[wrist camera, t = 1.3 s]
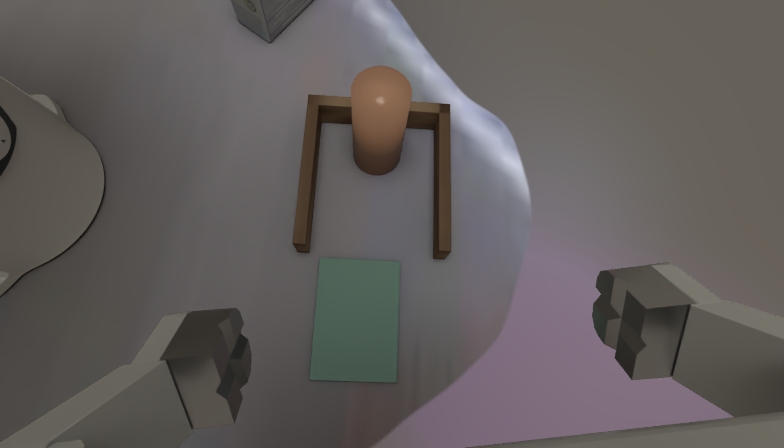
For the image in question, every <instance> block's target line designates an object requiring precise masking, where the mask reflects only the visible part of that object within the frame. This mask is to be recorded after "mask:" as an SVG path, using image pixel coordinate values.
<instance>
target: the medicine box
mask: <svg viewBox="0 0 784 448" xmlns="http://www.w3.org/2000/svg"><path fill="white" fill-rule="evenodd" d="M312 1H313V0H231V2H232V5H233V8H234V11H235V13H236V16H237V19H238V21H239V22H241V23H242V24H243V25H245V26H246V27H248V28H249V29H250V30H252V31H253V32H255V33H256V34H257V35H259V36H260V37H262V38H263V39H264V40H266V41H267V42H269V43H270V42H271V41H272V40H273V39H274V38H275V37H276V36H277V35H278V34H279V33H280V32H281V31H282V30H283V29H284V28H285V27H286V26H288V25H289V24H290V23H291V22H292V21H293V20H294V19H295V18H296V17H297V16H298V15H299V14H300V13H301V12H302V11H303V10H304V9H305V8H306V7H307V6H308V5H309V4H310V3H311V2H312Z"/></svg>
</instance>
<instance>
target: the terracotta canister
mask: <svg viewBox="0 0 784 448" xmlns="http://www.w3.org/2000/svg"><path fill="white" fill-rule="evenodd" d="M411 98H412V89H411V86H410V83H409V81H408V80H407V78H406V77H405V76H404V75H403V74H402V73H400V72H399V71H397V70H395V69H393V68H390V67H385V66H375V67H371V68H368V69H366V70H364V71H362V72H361V73H359V74H358V75H357V76H356V78H355V79H354V81H353V83H352V86H351V107H352V134H353V157H354V161H355V163H356V164H357V166H358V167H359V168H360V169H361V170H362V171H364V172H366V173H368V174H371V175H384V174H387V173H389V172H391V171H392V170H393V169H394V168H395V167H396V166H397V164H398V163H399V160H400V155H401V150H402V145H403V140H404V134H405V129H406V124H407V119H408V113H409V108H410V103H411Z"/></svg>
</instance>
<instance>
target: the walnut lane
mask: <svg viewBox="0 0 784 448" xmlns="http://www.w3.org/2000/svg"><path fill="white" fill-rule="evenodd" d="M321 122H327V123H342V124H352V107H351V97H338V96H324V95H308V104H307V114H306V123H305V132H304V142H303V151H302V161H301V170H300V179H299V189H298V198H297V207H296V217H295V226H294V236H293V245H294V246H295V248H296V250H297V252H308V253H309V250H310V239H311V229H312V218H313V207H314V197H315V186H316V176H317V165H318V154H319V144H320V133H321ZM406 128H419V129H434V250H433V259H445V258H446V257H447V256H448V254H449V253H450V252H451V163H450V104H440V103H426V102H411V103H410V108H409V113H408V119H407V124H406Z"/></svg>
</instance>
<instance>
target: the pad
mask: <svg viewBox="0 0 784 448" xmlns="http://www.w3.org/2000/svg"><path fill="white" fill-rule="evenodd" d="M399 286H400V261H380V260H359V259H338V258H320V262H319V273H318V285H317V296H316V308H315V320H314V331H313V343H312V355H311V366H310V378H309V380H328V381H359V382H389V383H397V356H398V321H399Z"/></svg>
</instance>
